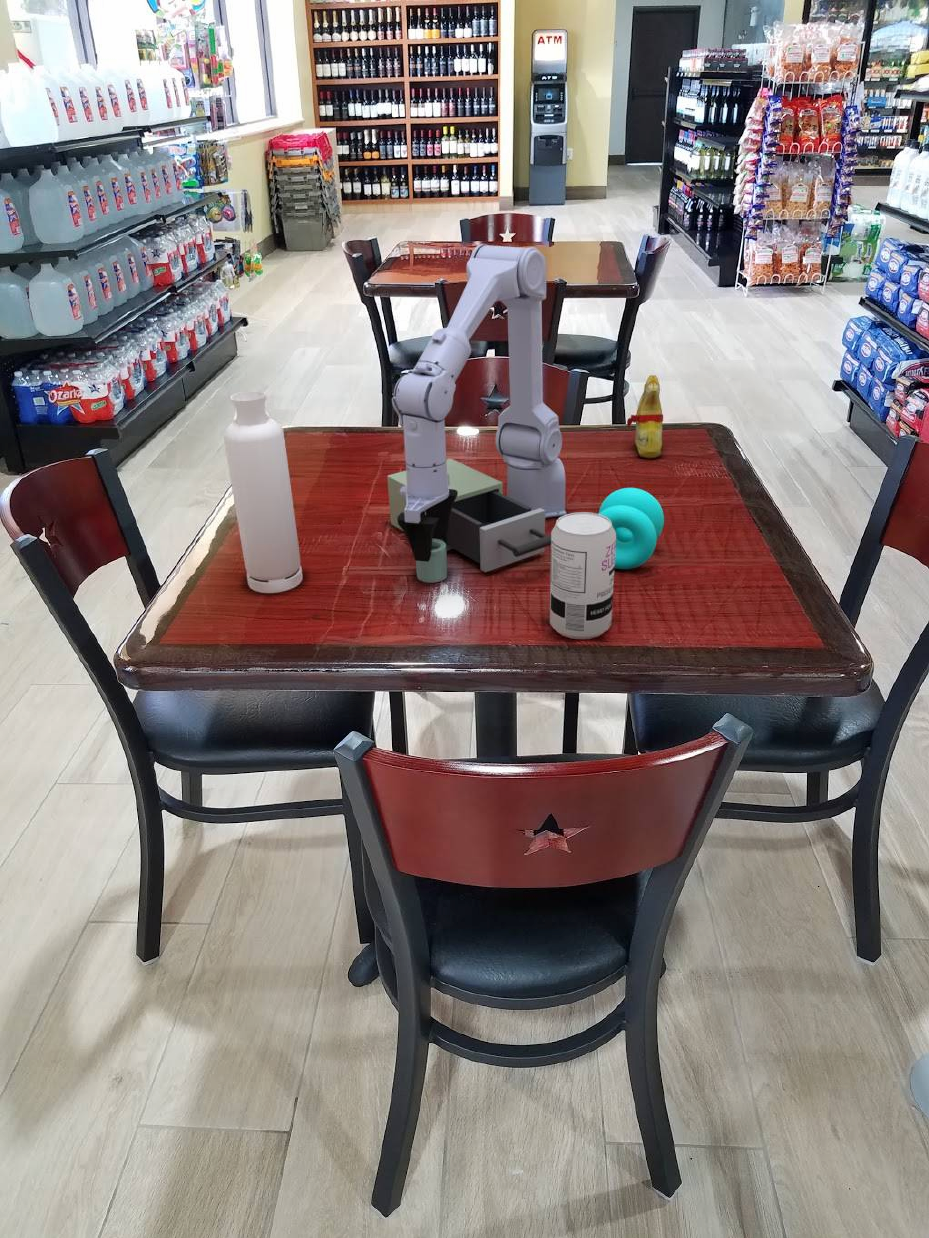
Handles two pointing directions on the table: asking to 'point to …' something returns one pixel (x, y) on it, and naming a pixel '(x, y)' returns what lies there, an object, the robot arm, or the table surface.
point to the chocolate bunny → (649, 420)
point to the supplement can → (582, 575)
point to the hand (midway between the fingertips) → (430, 548)
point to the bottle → (262, 495)
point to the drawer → (496, 530)
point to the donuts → (633, 525)
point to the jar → (433, 564)
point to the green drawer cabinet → (460, 480)
